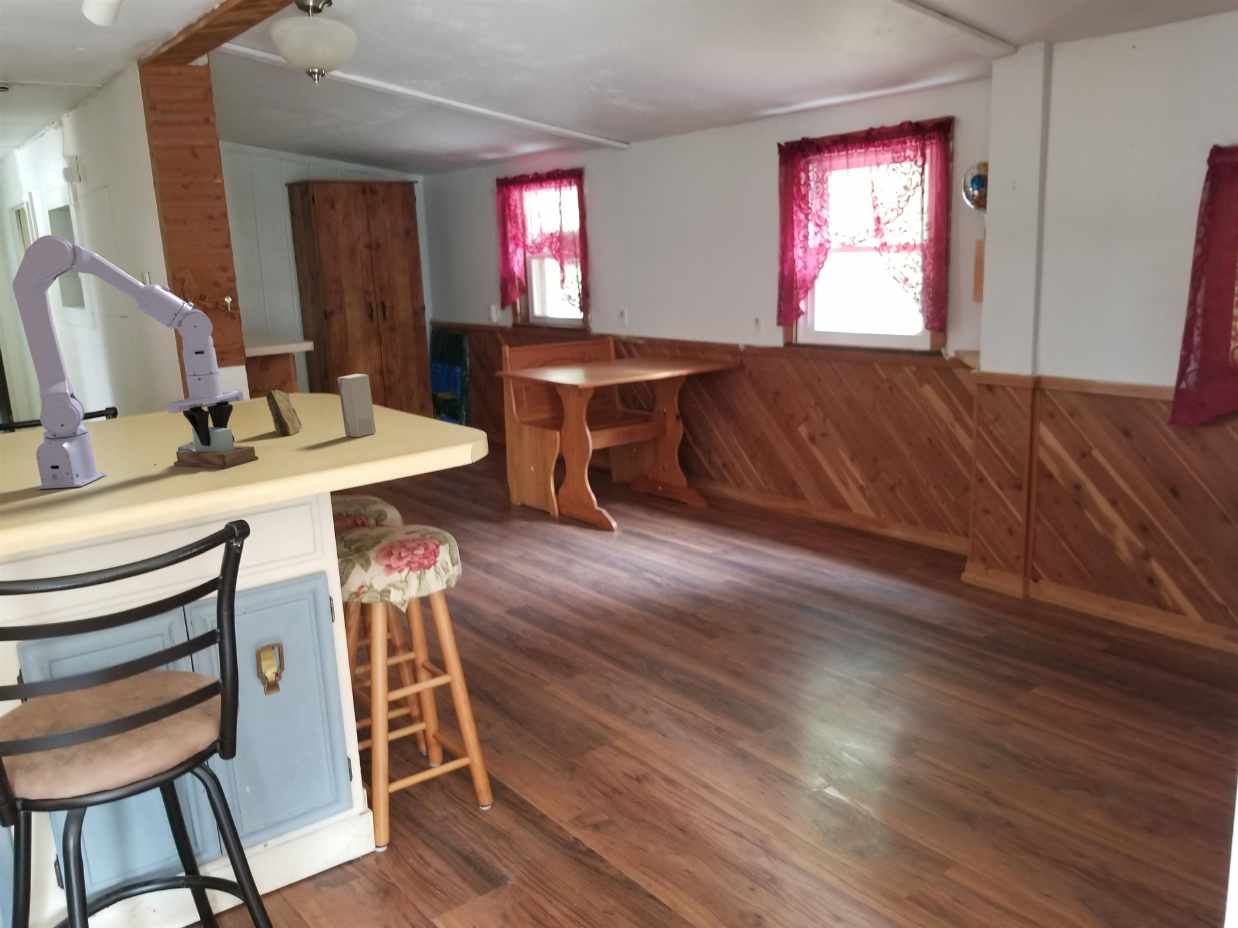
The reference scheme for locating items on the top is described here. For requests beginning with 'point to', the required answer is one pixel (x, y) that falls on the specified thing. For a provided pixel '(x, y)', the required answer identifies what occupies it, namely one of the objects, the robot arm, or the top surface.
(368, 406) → the box
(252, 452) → the floor track
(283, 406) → the rock
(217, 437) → the pale teal block
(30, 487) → the top surface
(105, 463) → the top surface
